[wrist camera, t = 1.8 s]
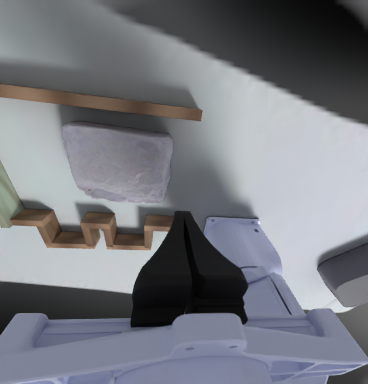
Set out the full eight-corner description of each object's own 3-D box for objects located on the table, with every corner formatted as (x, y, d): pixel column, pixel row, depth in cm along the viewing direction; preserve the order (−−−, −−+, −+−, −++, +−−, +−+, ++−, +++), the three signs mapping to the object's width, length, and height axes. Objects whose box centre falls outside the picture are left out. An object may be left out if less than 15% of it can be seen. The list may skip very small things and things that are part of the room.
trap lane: (198, 108, 18) (203, 110, 15) (179, 239, 29) (180, 253, 26) (-55, 76, 15) (-102, 71, 12) (31, 234, 26) (15, 249, 23)
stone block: (169, 188, 25) (175, 126, 19) (167, 211, 22) (173, 143, 15) (94, 180, 24) (71, 111, 17) (78, 203, 21) (42, 127, 14)
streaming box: (388, 265, 38) (416, 287, 34) (326, 287, 42) (344, 309, 38) (385, 234, 32) (419, 255, 27) (313, 263, 36) (333, 286, 31)
